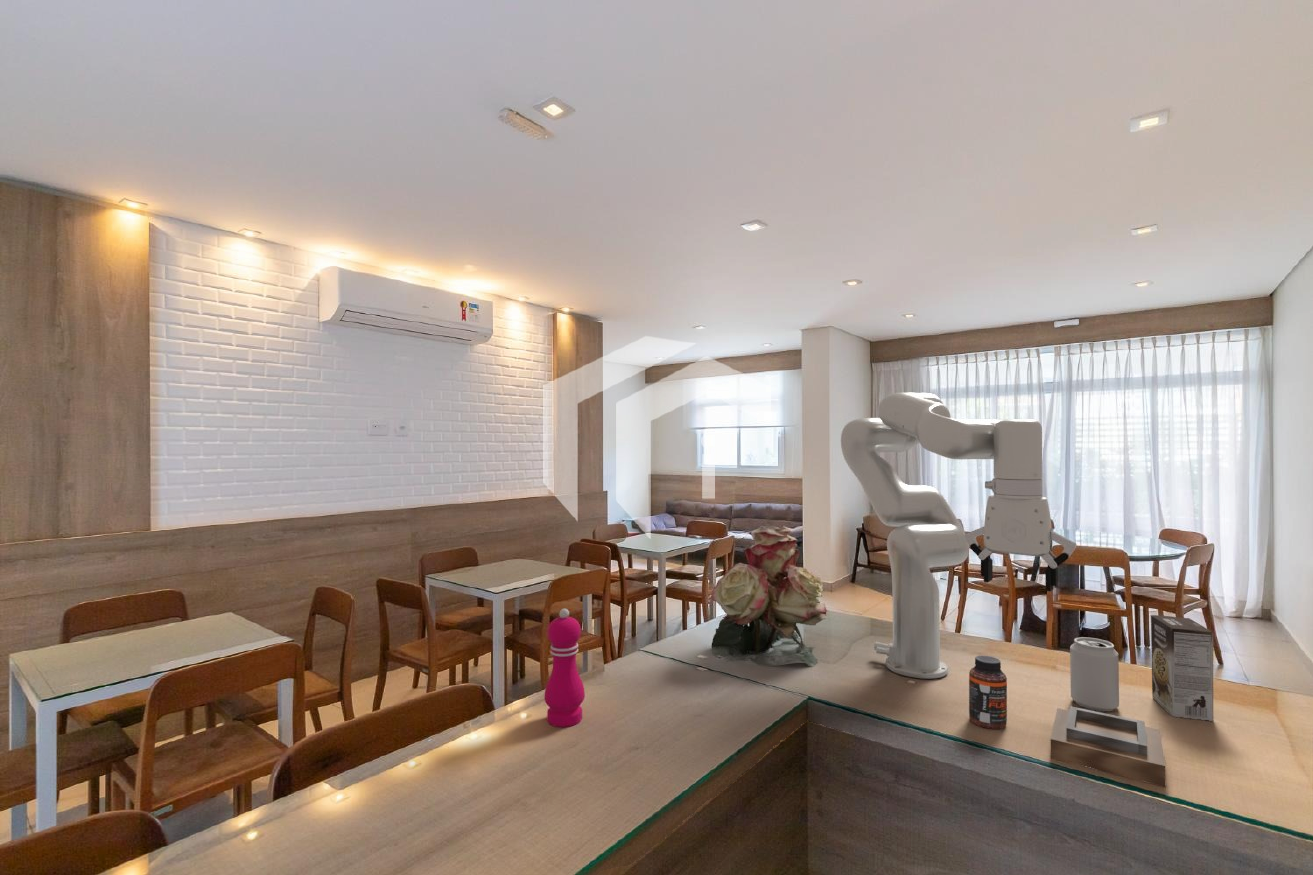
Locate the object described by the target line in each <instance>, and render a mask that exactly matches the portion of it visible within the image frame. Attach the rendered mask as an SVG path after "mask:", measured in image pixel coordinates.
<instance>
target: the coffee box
mask: <svg viewBox="0 0 1313 875" xmlns="http://www.w3.org/2000/svg"><path fill="white" fill-rule="evenodd" d="M1150 625H1151V626H1150V634H1151V635H1150V637H1151V638H1150V642H1151V689H1152V690H1151V691H1152V692H1151V695H1152V696H1151V697H1152V699H1153V700H1154V701H1156V702H1157V704H1158V705H1160V707H1162V708H1163V709H1164V710H1165V711H1166V712H1167V713H1168V714H1169V715H1170V716H1172V717H1173V718H1180V717H1185V718H1184V719H1189V718H1193V719H1192V720H1197V719H1201V720H1200V721H1205V720H1209V721H1208V722H1214V718H1215V717H1214V632H1213V631H1211V629H1209V628H1207V627H1205V626H1203V625H1202V624H1200V623H1198V622H1197V621H1194V620H1193V619H1192V618H1190V617H1189V618H1188V617H1177V616H1170V615H1159V614H1158V615H1157V614H1151V615H1150Z"/></svg>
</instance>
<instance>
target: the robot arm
mask: <svg viewBox="0 0 1313 875" xmlns="http://www.w3.org/2000/svg"><path fill="white" fill-rule="evenodd" d="M877 415H878V417H863V418H861V417H860V418H857V419H853V420H851V421H849V422H848V423H846V424H845V425H844V427H843V429H842V432H841V434H840V447H841V448H840V449H841V452H842V455H843V458H844V460H845V462H846V465H847V466H848V467H849V469H850V470H851V472H852V474H854V476H855V478H856V479H857V480H858V481H859V483H860V485H861V486H862V488H863V490H864V493H865V495H866V497H867V498H868V501H869V503H870V504H871V506H872V507H873V510H874V512H875V514H876V516H877V517H878V520H879V521H880V522H881V523H882V524H884V525H885V526H887V527H892V528H893V527H895V528H894V529H893V530H891V531H890V533H889V534H888V537H887V540H886V547H887V548H886V550H887V553H888V560H889V564H890V570H891V587H892V588H891V589H892V590H891V592H892V642H889V643H883V642H879V641H875V642H874V645H873V648H874V649H873V650H874V651H875V652H876V654H880V655H886V656H887V658H886V659H885V666H886V667H887V668H888V670H890V671H891V672H893V673H896V674H898V675H901V676H905V677H909V678H915V679H922V680H923V679H927V680H929V679H930V680H931V679H939V678H943V677H945V676H947V674H948V672H949V667H948V665H947V664H946V663H945V662H943V661H941V643H940V642H941V637H940V636H941V634H940V631H941V630H940V628H941V627H940V626H941V625H940V624H941V623H940V621H941V620H940V589H939V585H938V583H937V581H936V579H935V578H934V575H933V574H932V573H931V568H939V567H953V566H957V565H959V564H962V563H964V562H965V561H966V560H967V559H968V556H969V553H970V550H971V551H973V553H974V555H976V556H977V558H978V559H979V560H980V575H981V576H980V577H983V582H984V583H990V582H991V581H992V580H993V575H994V574H993V573H994V572H993V570H994V567H993V566H994V565H993V558H992V557H991V555H992V554H993V553H1001V554H1010V555H1018V556H1019V555H1021V556H1030V557H1041V559H1042V560H1043V561H1044V562H1045V563H1046V564H1047V567H1046V568H1045V570H1044V572H1045V573H1044V574H1045V578H1044V579H1045V584H1044V585H1045V591H1047V592H1052V591H1053V590H1054V587H1058V581H1059V580H1058V579H1059V578H1058V575H1059V574H1058V573H1059V572H1058V568H1059V566H1061V565H1062V564H1063V563H1064V562H1066V561H1067V560H1069V559H1070V557H1071V555H1072V554H1073V553H1074V551H1075V550H1076V548H1077V546H1078V545H1077V542H1075V541H1072V540H1071V539H1069V538H1066V537H1065V536H1064V535H1061V534H1060V533H1058V532H1056V531H1054V530H1053V528H1052V517H1051V510H1050V507H1049V501H1048V498H1047V497H1044V496H1043V426H1042V424H1041V422H1039V421H1038V420H1035V419H1022V418H1021V419H1004V420H1003V419H983V418H982V419H979V418H978V419H977V418H976V419H974V418H973V419H972V418H971V419H966V418H965V419H961V418H960V419H958V418H957V419H955V418H952V417H951V412H950V410H949V409H948V407H947V406H946V405H944V402H943V400H942V399H941V398H939V397H938V396H937V395H936V394H934V393H933V394H932V393H928V392H895V393H891V394H888V395H887V396H885V397H884V398H882V399H881V400H880V402H879V404H878V407H877ZM918 444H920V445H921V447H922V448H923V449H924V450H926V451H928V452H931V453H934V454H936V455H939V456H941V457H944V458H948V459H952V460H993V477H992V480H989V481H987V480H986V481H984V488H985V489H987V490H991V492H992V493H993V494H991V495H988V498H987V502H986V507H985V515H984V524H983V525H984V526H982V527H980V528H976V529H975V530H971V531H969V532H965V530H964V528H963V526H962V524H961V523H960V522H959V520H958V518H957V516H956V515H955V512H954V510H952V509H951V508H952V507H950V504H949V503H948V502H947V500H946V499H945V497H944V495H942V493H941V492H940V491H939V490H937V489H936V488H935V487H932V486H930V485H926V484H924V485H923V484H906V483H905V482H903V481H902V479H901V478H900V477H899V475H898V473H897V471H896V469H895V468H894V467H893V465H892V464H890V462H889V461H887V460H886V459H885V458H883V457H882V456H881V455H879V454H878V453H902V452H905V451H906V452H907V451H910V450H911V449H912V448H914V447H915V446H917V445H918ZM980 536H983V546H984V548H983V547H982V546H981V545H980V544H979V542H978V540H977V538H978V537H980ZM1053 542H1055V543H1056V544H1059V545H1061V546H1062V547H1063V550H1062V551H1061V553H1060V554H1059V555H1058V556H1056V555H1055V554H1054V553H1053V552H1052V550H1053Z"/></svg>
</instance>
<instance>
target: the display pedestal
mask: <svg viewBox="0 0 1313 875" xmlns="http://www.w3.org/2000/svg"><path fill="white" fill-rule="evenodd" d="M1163 747H1164V746H1163V741H1162V735H1161V729H1158V728H1155V727H1150V726H1146V725H1145V720H1143V721H1142V720H1139V719H1133V718H1130V717H1125V716H1121V715H1120V716H1119V715H1114V714H1110V713H1104V712H1102V711H1095V710H1091V709H1087V708H1080V707H1075V706H1070V707H1069V709H1063V708H1060V707H1057V708H1056V713H1055V718H1054V722H1053V725H1052V729H1051V735H1050V759H1053V760H1057V761H1061V762H1066V763H1069V764H1071V765H1072V764H1073V765H1077V766H1081V767H1084V766H1087V767H1086V768H1088V767H1091V768H1090V769H1092V768H1094V769H1093V770H1096V769H1097V770H1096V771H1100V770H1101V772H1103V773H1109V774H1113V775H1115V776H1116V775H1117V776H1120V777H1121V776H1122V777H1125V778H1128V779H1132V780H1136V781H1140V782H1143V783H1148V784H1152V785H1156V786H1160V787H1165V788H1166V785H1167V784H1166V781H1167V780H1166V762H1165V761H1166V760H1165V755H1164V748H1163Z"/></svg>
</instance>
